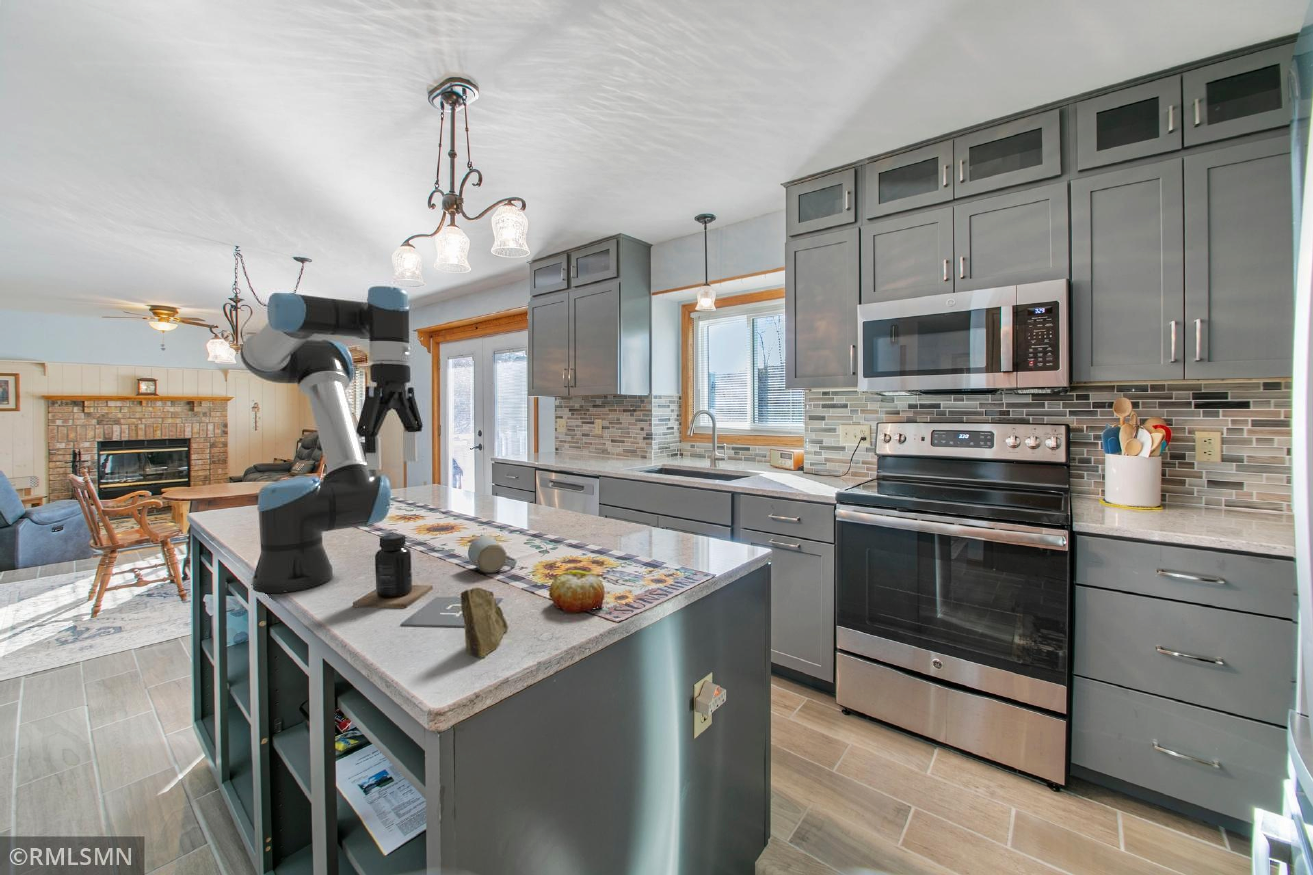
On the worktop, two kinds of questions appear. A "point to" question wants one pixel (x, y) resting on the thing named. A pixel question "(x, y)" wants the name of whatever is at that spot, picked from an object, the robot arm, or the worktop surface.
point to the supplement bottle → (393, 567)
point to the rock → (482, 621)
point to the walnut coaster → (396, 602)
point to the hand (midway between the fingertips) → (393, 465)
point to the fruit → (577, 591)
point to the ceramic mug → (489, 555)
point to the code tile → (440, 613)
